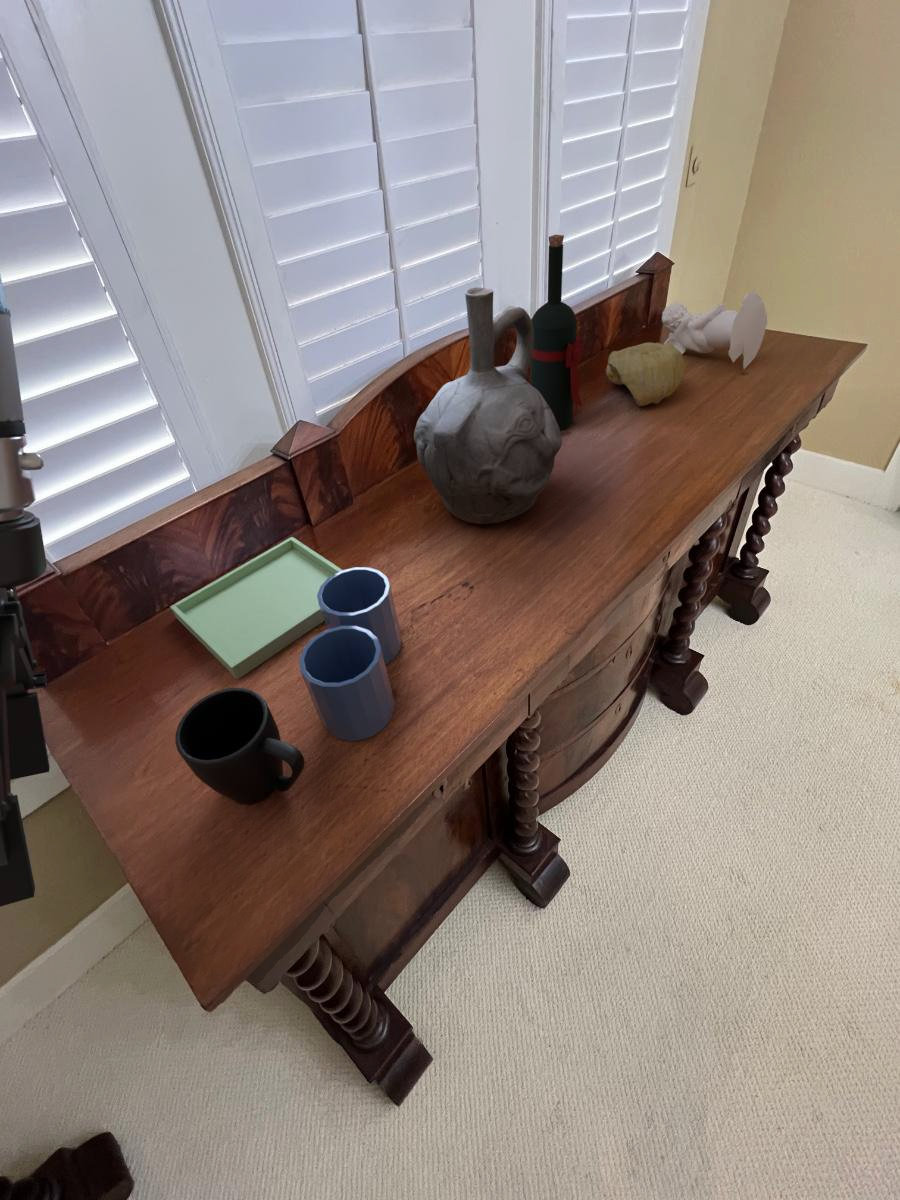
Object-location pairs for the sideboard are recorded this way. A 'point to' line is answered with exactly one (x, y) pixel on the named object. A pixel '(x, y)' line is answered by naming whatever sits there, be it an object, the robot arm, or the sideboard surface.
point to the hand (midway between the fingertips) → (18, 828)
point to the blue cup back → (362, 606)
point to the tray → (258, 606)
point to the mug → (237, 746)
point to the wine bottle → (556, 345)
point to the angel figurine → (719, 328)
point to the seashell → (647, 371)
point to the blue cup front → (348, 682)
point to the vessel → (489, 424)
